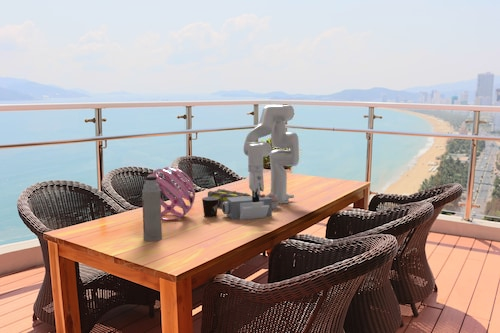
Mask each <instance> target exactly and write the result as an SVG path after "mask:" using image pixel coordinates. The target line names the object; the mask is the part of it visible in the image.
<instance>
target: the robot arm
mask: <svg viewBox="0 0 500 333" xmlns="http://www.w3.org/2000/svg"><path fill="white" fill-rule="evenodd" d="M294 116H295V109H294V107H293V106H292V105H290V104H267V105H265V106H264V107H263V109H262V112H261V115H260V119H259V123H258V125H257V126H255V127H254V128H252V129H251V131H250V132H248V134H247V135H246V137H245V141H244V143H243V144H244V145H243V153H244V155H245V156H247V158H248V159H247V160H248V164H247V165H248V166H247V167H248V168H247V170H248V172H249V176H248V177H249V178H248V188H249V189H250V190H251V196H252V202H259V195H260V194H261V192H264V190H265V186H264V182H265V181H264V173H263V172H264V158H267V157H268V156H269V163H270V192H272V193H273V194H274V195H276V196H277V200H279V203H278V205H281V204H288V203H289V202H290V199H294V198H295V195H294V194H288V193H287V188H288V187H287V184H288V183H287V182H288V181H287V180H288V179H287V178H288V174H287V171H286V169H285V167H297V166H298V164H299V163H300V161H299V160H300V149H299V148H300V146H299V145H300V144H299V142H300V140H299V136H298V134H297V133H296V132H292V131H289V132H288V131H286V122H290V121H292V120H293V118H294ZM269 135H270V137H271V138H270V140H271V144H270V143H269V142H266V141H257V140H259V139H261V138H263V137H264V138H265V137H267V136H269ZM273 148H275V149H273Z"/></svg>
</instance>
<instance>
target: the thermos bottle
mask: <svg viewBox="0 0 500 333" xmlns="http://www.w3.org/2000/svg"><path fill="white" fill-rule="evenodd" d="M156 179H157V177H147V176H146V177H145V180H146V181H145V182H144V184H143V187H142V188H143V189H142V190H141V194H142V195H141V196H142V197H141V198H142V223H143V224H142V225H143V227H142V228H143V232H142V233H143V241H145V242H156V241H157V242H158V241H160V240H162V238H163V235H162V233H163V232H162V231H163V230H162V220H161V218H162V216H161V212H162V205H161V199H162V197H161V196H162V195H161V193H162V191H161V190H160V189H159V184H157V180H156Z"/></svg>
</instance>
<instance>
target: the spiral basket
mask: <svg viewBox="0 0 500 333" xmlns="http://www.w3.org/2000/svg"><path fill="white" fill-rule="evenodd" d="M168 170H170V171H172V172H169V171H168ZM158 172H159V173H162V176H163V177H164V178H163V177H161V176H159V175H158ZM146 177H157V179H156V180H157V184H159V189H160V191H161V193H162V194H163V195H164V196H165V197H166V198H167V199H168V200H169V201H170V202H171V203H170V204H168V203H166V202H165V201H164V200H163V199H162V198H161V207H162V208H164V210H163V211H161V221H167V222H171V221H177V220H179V219H181V218H183V217H185V216H186V215H187V214H188V213H189V212H190V210H191V209H192V207H193V206H194V202H195V199H196V191H195V185H194V182H193V181H192V179H191V178H190V176H189V175H188V174H186V172H184V171H183V170H181V169H179V168H173V167H171V166H170V167H169V166H168V167H167V166H166V167H164V168H158V169H155V170H153V172H152V173H151V174H150V173H149V174H148V175H147V176H146ZM145 181H146V179H145ZM175 183H176V184H177V185H178V186H176V184H175ZM190 192H192V194H191V193H190ZM184 200H187V201H188V202H189V205H188V204H186V202H185V201H184ZM175 207H178V208H181V209H182V213H181V212H179V211H177V210H175ZM169 213H170V214H172V215H174V216H176V217H174V218H162V217H163V216H165V215H167V214H169Z"/></svg>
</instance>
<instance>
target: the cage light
mask: <svg viewBox="0 0 500 333" xmlns="http://www.w3.org/2000/svg"><path fill="white" fill-rule="evenodd" d="M244 196H252V194H249V193H247V192H244V193H243V192H238V191H236V190H227V189H223V188H222V189H221V188H218V189H216V190H213V191H212V190H208V192H207V197H217V198H219V199H220V201H221V203H220V205H219V202H220V201H219V200H218V205H219V207H218V209H219V208H220V209H222V204H223V202H226V198H229V197H244Z"/></svg>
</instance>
